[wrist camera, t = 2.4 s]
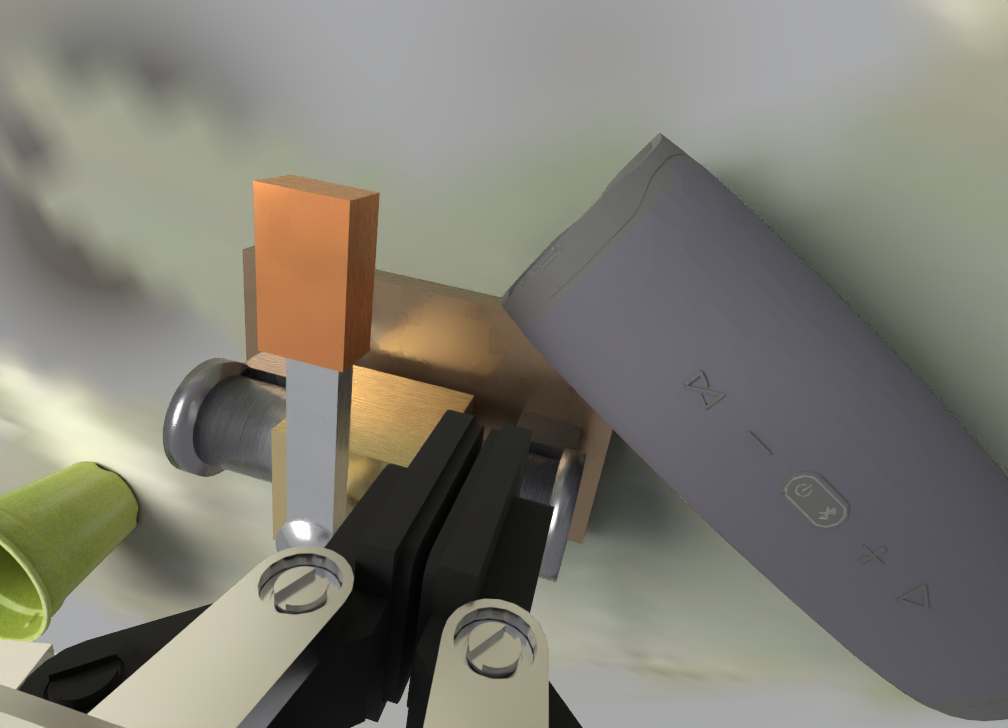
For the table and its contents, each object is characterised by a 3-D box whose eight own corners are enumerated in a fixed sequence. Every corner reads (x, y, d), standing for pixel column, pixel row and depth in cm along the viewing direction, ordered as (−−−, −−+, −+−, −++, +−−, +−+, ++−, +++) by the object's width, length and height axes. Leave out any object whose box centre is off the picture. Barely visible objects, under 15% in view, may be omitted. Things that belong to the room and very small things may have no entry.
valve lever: (356, 567, 23) (333, 601, 21) (291, 547, 23) (264, 579, 22) (379, 192, 17) (349, 200, 15) (291, 174, 17) (253, 180, 16)
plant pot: (24, 461, 42) (-119, 538, 35) (103, 421, 39) (-36, 496, 31) (104, 562, 45) (-13, 655, 37) (185, 532, 41) (75, 629, 33)
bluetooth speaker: (518, 276, 28) (455, 348, 19) (668, 120, 24) (678, 119, 15) (833, 582, 30) (909, 775, 21) (1017, 485, 26) (1205, 672, 17)
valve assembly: (637, 328, 28) (627, 439, 18) (585, 526, 33) (555, 694, 23) (260, 243, 31) (82, 300, 21) (264, 435, 36) (121, 552, 26)
